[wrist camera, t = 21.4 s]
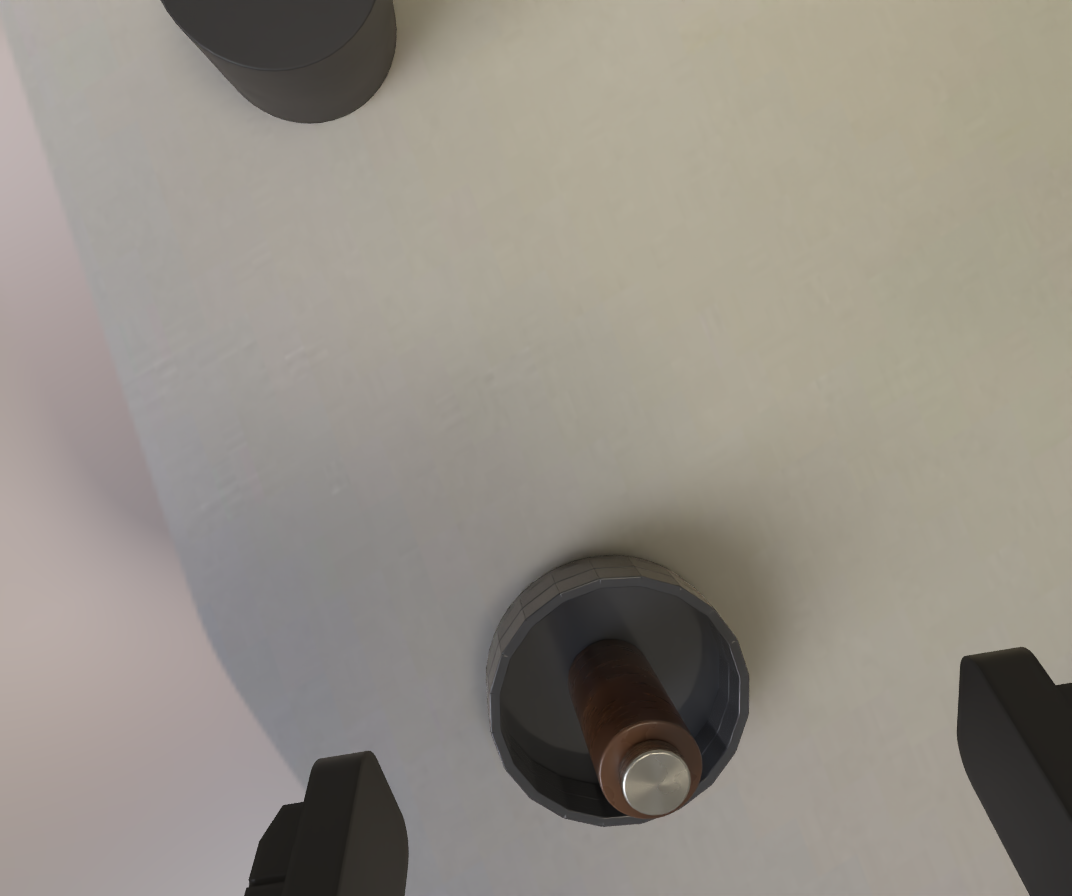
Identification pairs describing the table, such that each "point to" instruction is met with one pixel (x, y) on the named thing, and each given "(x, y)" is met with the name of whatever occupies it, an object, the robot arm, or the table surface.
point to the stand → (295, 51)
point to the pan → (572, 625)
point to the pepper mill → (633, 731)
